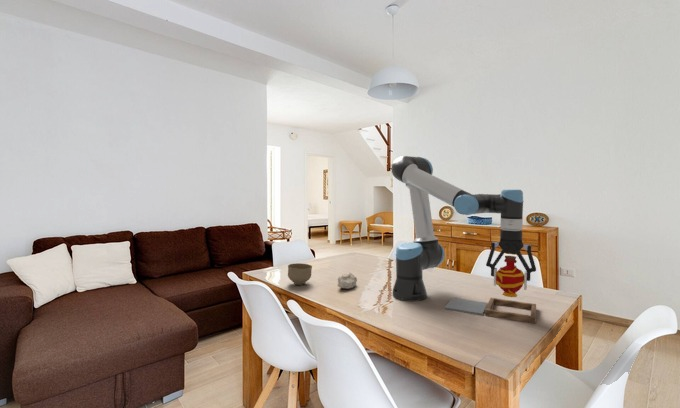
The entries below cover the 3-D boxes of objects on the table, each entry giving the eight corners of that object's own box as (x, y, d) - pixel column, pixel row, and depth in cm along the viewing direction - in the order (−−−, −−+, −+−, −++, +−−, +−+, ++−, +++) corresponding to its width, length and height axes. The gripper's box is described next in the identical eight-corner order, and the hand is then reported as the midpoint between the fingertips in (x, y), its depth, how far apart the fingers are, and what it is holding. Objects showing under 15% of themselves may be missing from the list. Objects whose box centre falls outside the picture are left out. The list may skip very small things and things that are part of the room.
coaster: (444, 308, 131) (444, 307, 131) (452, 298, 143) (452, 297, 143) (482, 315, 124) (482, 313, 124) (487, 304, 135) (487, 302, 135)
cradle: (484, 314, 124) (484, 309, 124) (490, 302, 138) (490, 297, 138) (535, 323, 115) (535, 317, 115) (536, 309, 129) (536, 304, 129)
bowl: (311, 287, 164) (310, 267, 163) (286, 287, 164) (285, 268, 163) (313, 280, 176) (313, 262, 176) (290, 281, 176) (289, 262, 176)
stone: (357, 293, 164) (360, 274, 168) (347, 287, 154) (351, 267, 158) (344, 292, 168) (347, 273, 172) (333, 286, 158) (337, 266, 162)
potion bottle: (529, 300, 120) (530, 260, 120) (499, 298, 123) (499, 259, 122) (519, 291, 131) (520, 254, 130) (491, 289, 133) (492, 253, 132)
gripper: (478, 228, 128) (477, 284, 129) (545, 232, 116) (543, 294, 117) (481, 226, 134) (480, 280, 136) (545, 230, 123) (543, 288, 124)
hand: (509, 286), depth 126 cm, fingers closed on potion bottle, 10 cm apart
